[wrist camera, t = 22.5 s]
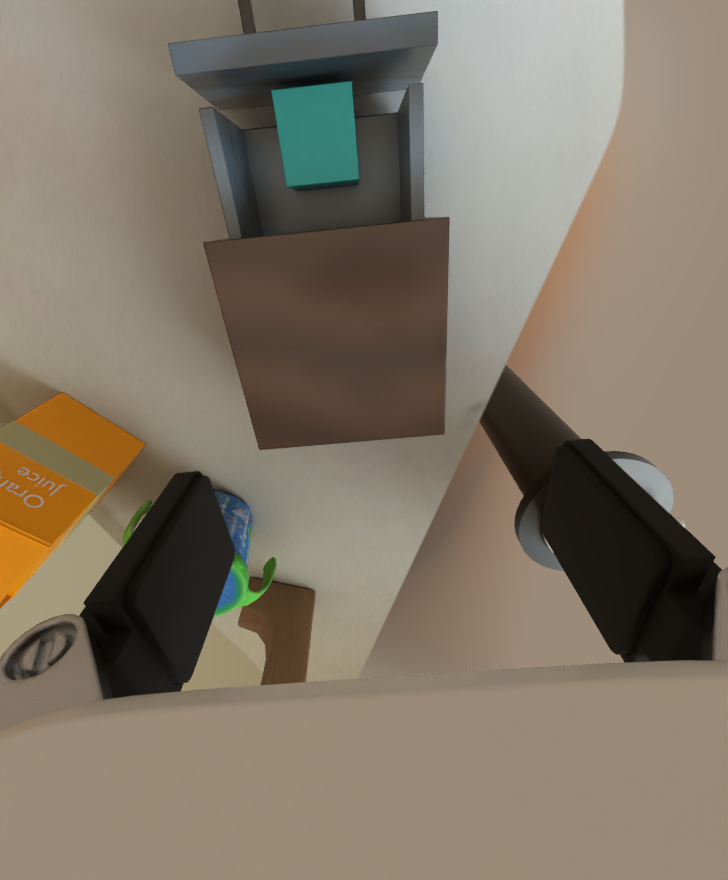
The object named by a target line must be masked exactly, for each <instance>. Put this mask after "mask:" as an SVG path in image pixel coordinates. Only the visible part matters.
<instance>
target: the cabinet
mask: <svg viewBox="0 0 728 880" xmlns="http://www.w3.org/2000/svg"><path fill="white" fill-rule="evenodd" d="M203 245H204V248H205V252H206V256H207V259H208V263H209V267H210V270H211V274H212V278H213V281H214V285H215V289H216V292H217V296H218V300H219V303H220V307H221V311H222V314H223V318H224V322H225V325H226V329H227V333H228V336H229V340H230V344H231V347H232V351H233V355H234V358H235V362H236V366H237V369H238V373H239V377H240V380H241V384H242V388H243V392H244V395H245V399H246V403H247V406H248V410H249V414H250V417H251V421H252V425H253V428H254V432H255V436H256V439H257V443H258V447H259V450H265V449H277V448H288V447H300V446H312V445H324V444H336V443H347V442H359V441H371V440H383V439H395V438H406V437H418V436H430V435H442V434H445V392H446V348H447V304H448V259H449V217H424V219H423V220H413V221H403V222H394V223H384V224H374V225H365V226H355V227H345V228H336V229H326V230H316V231H306V232H297V233H287V234H277V235H268V236H258V237H248V238H238V239H230V238H228V239H222V240H215V241H209V242H204V243H203Z"/></svg>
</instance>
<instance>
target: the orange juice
mask: <svg viewBox="0 0 728 880" xmlns="http://www.w3.org/2000/svg"><path fill="white" fill-rule="evenodd" d="M144 446H145V443H143V442H142V441H140V440H138V439H137V438H135V437H134V436H132V435H130V434H129V433H127V432H126V431H124V430H122V429H121V428H119V427H118V426H116V425H114V424H113V423H111V422H110V421H108V420H106V419H105V418H103V417H102V416H100V415H98V414H97V413H95V412H94V411H92V410H90V409H89V408H87V407H86V406H84V405H82V404H81V403H79V402H78V401H76V400H74V399H73V398H71V397H70V396H68V395H66V394H65V393H63V392H62V393H60V394H59V395H57V396H55V397H54V398H52V399H50V400H48V401H47V402H45V403H43V404H42V405H40V406H38V407H37V408H35V409H33V410H32V411H30V412H28V413H26V414H25V415H23V416H21V417H20V418H18V419H16V420H13V421H12V422H10V423H8V424H6V425H5V426H3V427H1V428H0V608H1V607H2V606H3V605H4V604H5V603H6V602H7V601H8V600H9V599H10V598H11V597H13V596H14V595H15V594H16V593H17V592H18V591H19V589H20V588H21V587H22V586H23V585H24V584H25V583H26V582H27V581H28V580H29V578H30V577H31V576H32V575H33V574H34V573H35V572H36V571H37V570H38V568H39V567H40V566H41V565H42V564H43V563H44V562H45V561H46V560H47V559H48V558H49V557H50V555H51V554H52V553H53V552H54V551H55V550H56V549H57V548H58V547H59V546H60V545H61V543H62V542H64V541H65V540H66V539H67V537H68V536H69V535H70V534H71V533H72V532H73V531H74V530H75V528H77V526H78V525H79V524H80V523H81V522H82V520H83V519H84V518H85V517H86V516H87V515H88V514H89V512H90V511H91V510H92V509H93V508H94V507H95V506H96V505H97V504H98V503H99V501H100V500H101V499H102V498H103V497H104V496H105V495H106V494H107V493H108V492H109V490H110V489H111V488H112V487H113V486H114V485H115V484H116V482H117V481H118V480H119V478H120V477H121V476H122V474H123V473H124V472H125V470H126V469H127V468H128V467H129V465H130V464H131V463H132V461H133V460H134V459H135V457H136V456H137V455H138V453H139V452H140V451H141V450H142V448H143V447H144Z"/></svg>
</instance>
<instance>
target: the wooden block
mask: <svg viewBox="0 0 728 880" xmlns="http://www.w3.org/2000/svg"><path fill="white" fill-rule="evenodd" d="M262 586H263V580H261V579H256V578H252V579H251V580H250V583H249V589H250V590H251V591H253V592H257V591H258V590H260V589H262ZM314 603H315V591H314V590H309V589H304V588H299V587H295V586H290V585H285V584H280V583H275V582H271V583H270V585H269V587H268V588H267V590H266V591H265V592H264V593H263V594H262V595H261V596H260V597H259V598H258V599H257V600H255V601H254V602H252V603H250V604H249V605H248V606H247V605H246V606H243V607H242V610H241V614H240V617H239V621H238V626H240V627H242V628H245V629H247V630H250V631H253V632H256V633H258V635H259V636H260V638H261V639H262V641H263V642H264V644H265V649H266V662H265V667H264V672H263V677H262V681H261V685H273V684H287V683H301V682H306V676H307V667H308V658H309V648H310V639H311V630H312V621H313V612H314Z"/></svg>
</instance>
